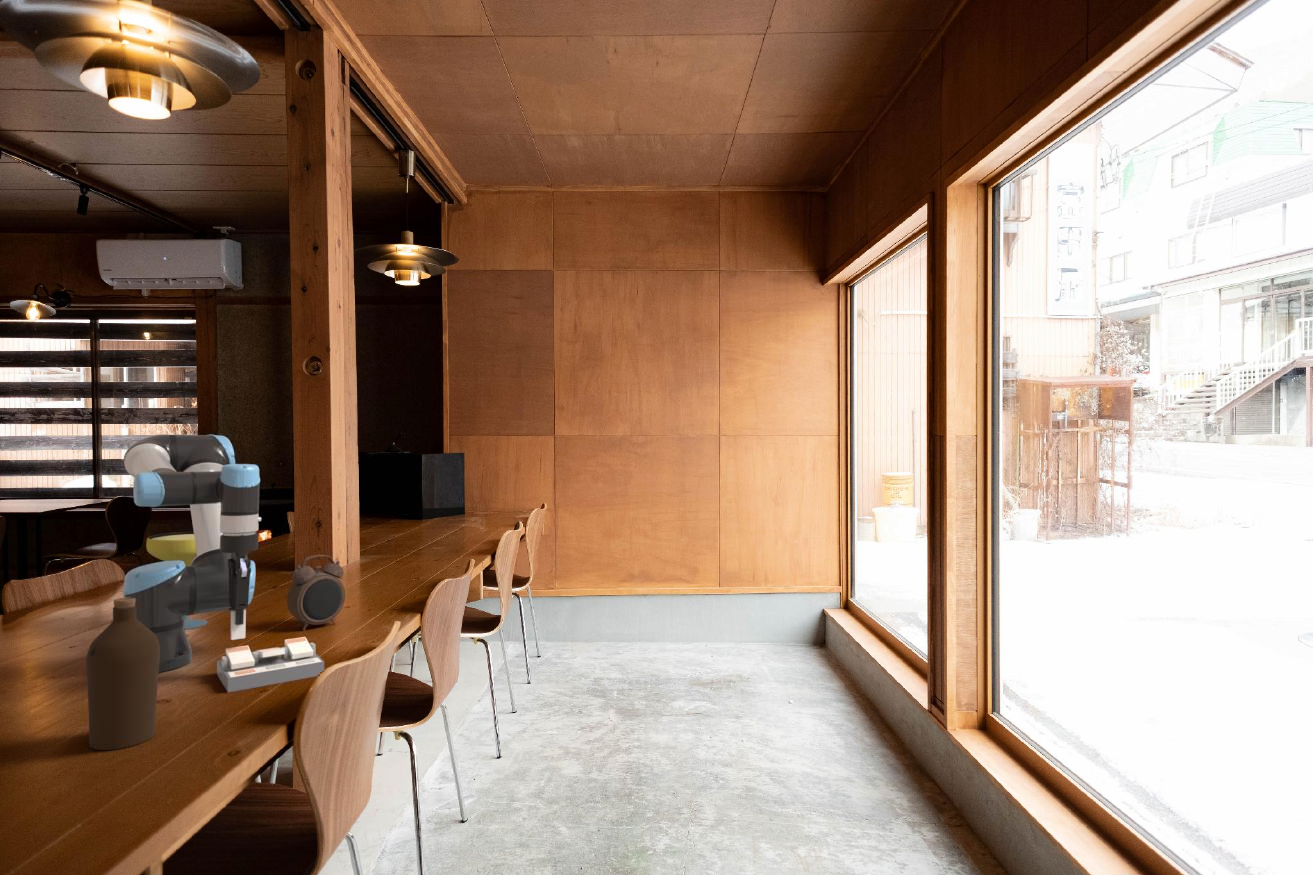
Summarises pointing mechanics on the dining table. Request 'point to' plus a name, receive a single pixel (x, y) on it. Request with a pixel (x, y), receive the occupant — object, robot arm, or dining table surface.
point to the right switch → (298, 648)
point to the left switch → (240, 657)
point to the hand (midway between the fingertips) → (237, 638)
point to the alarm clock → (316, 593)
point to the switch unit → (269, 670)
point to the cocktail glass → (176, 557)
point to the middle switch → (270, 652)
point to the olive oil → (122, 681)
